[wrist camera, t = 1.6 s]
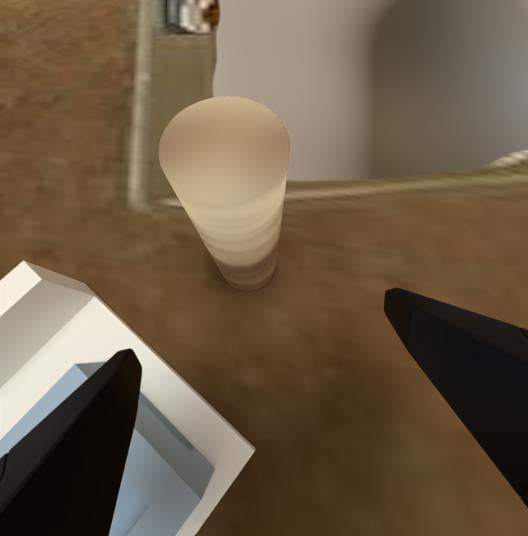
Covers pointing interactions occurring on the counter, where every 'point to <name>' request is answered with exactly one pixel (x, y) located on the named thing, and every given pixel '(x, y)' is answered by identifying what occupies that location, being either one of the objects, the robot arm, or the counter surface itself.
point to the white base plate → (101, 350)
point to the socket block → (137, 463)
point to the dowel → (231, 182)
